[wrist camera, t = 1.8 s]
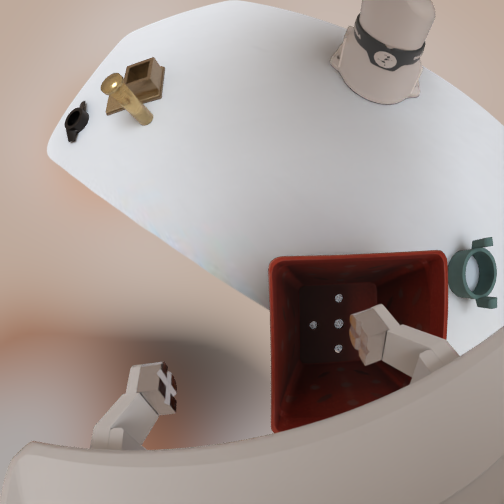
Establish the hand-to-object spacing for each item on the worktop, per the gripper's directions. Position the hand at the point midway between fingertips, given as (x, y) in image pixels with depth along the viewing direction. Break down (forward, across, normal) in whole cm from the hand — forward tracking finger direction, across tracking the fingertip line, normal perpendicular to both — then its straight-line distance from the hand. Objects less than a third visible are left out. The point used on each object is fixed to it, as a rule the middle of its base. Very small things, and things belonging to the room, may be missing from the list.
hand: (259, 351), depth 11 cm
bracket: (+19, -37, +19) cm, 46 cm away
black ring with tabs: (+58, +30, -19) cm, 68 cm away
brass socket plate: (+55, +14, -21) cm, 61 cm away
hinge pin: (+50, +12, -14) cm, 53 cm away
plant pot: (+22, -12, +22) cm, 34 cm away
